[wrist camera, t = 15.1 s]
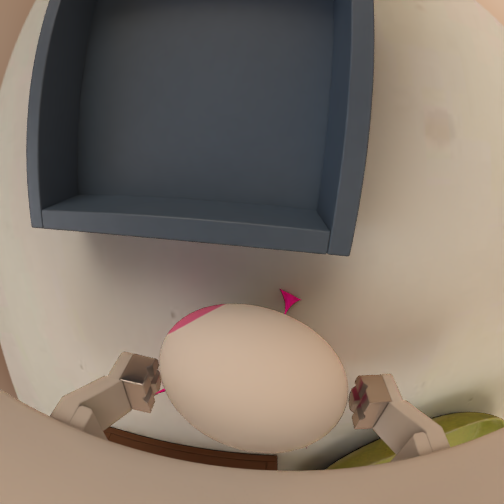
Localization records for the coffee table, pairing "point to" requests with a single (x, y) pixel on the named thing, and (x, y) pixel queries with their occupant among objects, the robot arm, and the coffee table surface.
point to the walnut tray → (192, 452)
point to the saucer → (454, 425)
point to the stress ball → (253, 377)
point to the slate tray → (203, 120)
